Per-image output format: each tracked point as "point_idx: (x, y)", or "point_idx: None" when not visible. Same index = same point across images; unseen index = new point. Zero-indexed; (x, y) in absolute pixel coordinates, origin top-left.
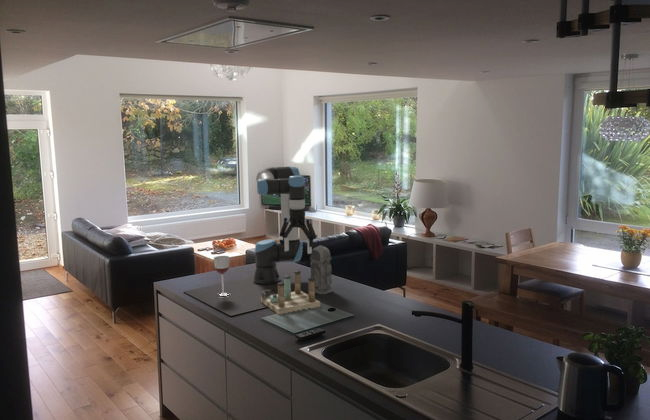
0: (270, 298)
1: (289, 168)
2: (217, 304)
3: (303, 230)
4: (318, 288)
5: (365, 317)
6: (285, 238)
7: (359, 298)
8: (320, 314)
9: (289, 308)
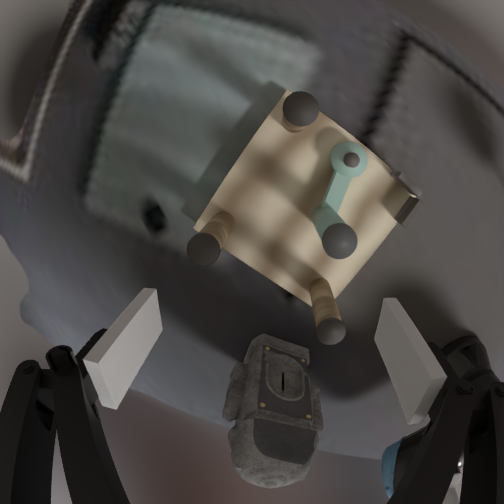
0: (361, 147)
1: None
2: (495, 127)
3: (96, 482)
4: (273, 349)
5: (58, 201)
6: (432, 378)
7: None
8: (159, 158)
9: (261, 125)
